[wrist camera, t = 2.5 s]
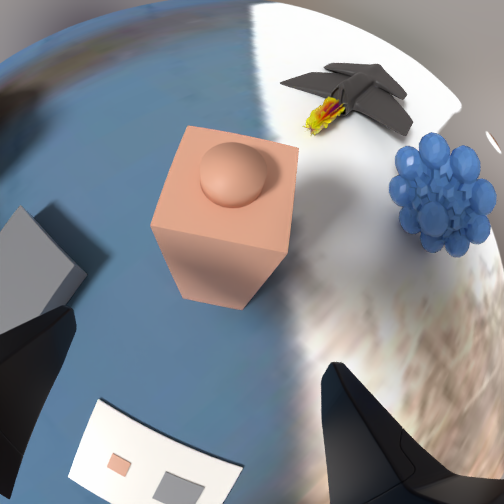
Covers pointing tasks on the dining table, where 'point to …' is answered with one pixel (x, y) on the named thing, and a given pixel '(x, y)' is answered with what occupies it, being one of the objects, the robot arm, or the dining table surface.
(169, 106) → the dining table surface
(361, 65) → the toy plane
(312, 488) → the dining table surface
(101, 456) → the page
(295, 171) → the tall brick
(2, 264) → the base plate
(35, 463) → the dining table surface
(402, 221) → the blue knobby flower
